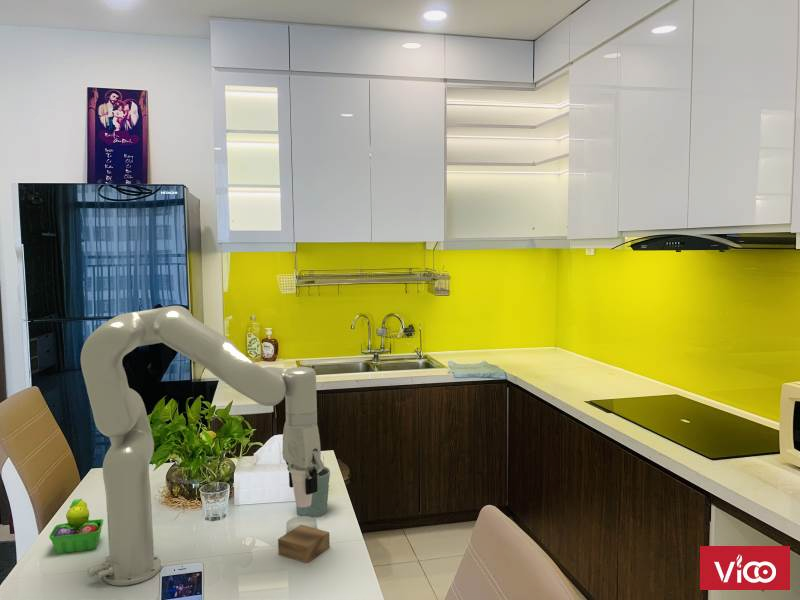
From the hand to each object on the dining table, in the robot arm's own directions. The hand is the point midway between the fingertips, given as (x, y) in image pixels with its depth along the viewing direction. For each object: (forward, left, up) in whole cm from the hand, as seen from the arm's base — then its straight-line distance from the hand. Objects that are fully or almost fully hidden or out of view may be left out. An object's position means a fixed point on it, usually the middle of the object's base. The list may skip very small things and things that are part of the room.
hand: (303, 488), depth 157 cm
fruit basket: (-38, +44, -16) cm, 60 cm away
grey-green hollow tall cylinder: (+16, +17, -16) cm, 28 cm away
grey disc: (+6, +9, -16) cm, 19 cm away
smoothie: (0, 0, -4) cm, 4 cm away
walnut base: (0, 0, -16) cm, 16 cm away
